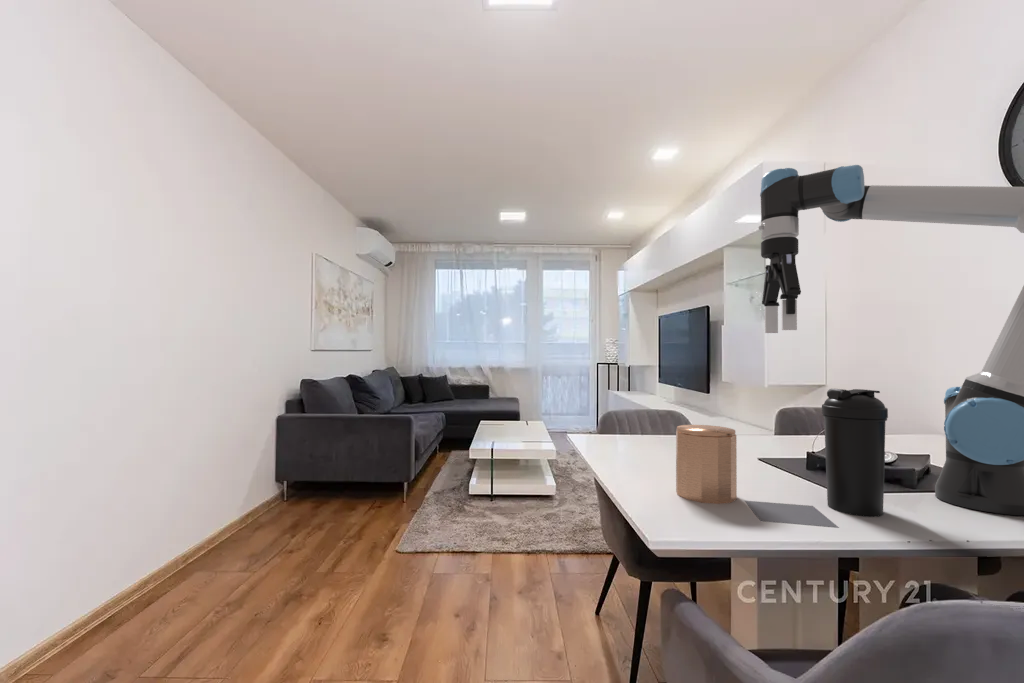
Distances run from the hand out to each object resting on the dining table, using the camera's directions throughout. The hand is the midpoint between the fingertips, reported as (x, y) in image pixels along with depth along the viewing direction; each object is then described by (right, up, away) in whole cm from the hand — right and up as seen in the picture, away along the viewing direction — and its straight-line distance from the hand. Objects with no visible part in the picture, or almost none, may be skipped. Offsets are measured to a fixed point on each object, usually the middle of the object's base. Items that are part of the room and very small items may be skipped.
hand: (779, 331), depth 110 cm
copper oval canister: (-21, -34, -11) cm, 42 cm away
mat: (-11, -34, -22) cm, 42 cm away
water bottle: (+3, -34, -19) cm, 40 cm away
